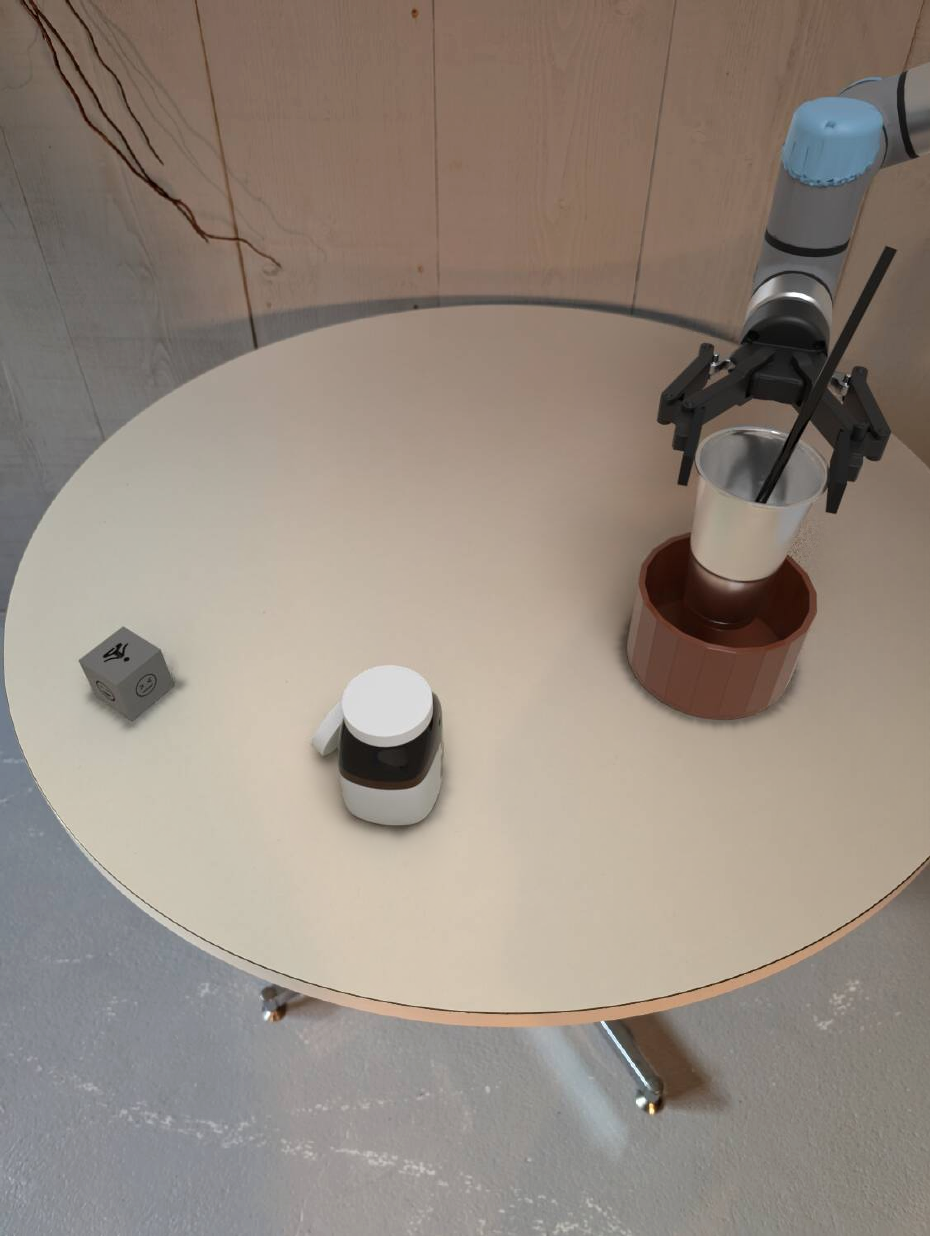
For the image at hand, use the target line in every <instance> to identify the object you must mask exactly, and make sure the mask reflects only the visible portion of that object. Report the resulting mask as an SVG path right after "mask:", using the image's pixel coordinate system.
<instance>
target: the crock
mask: <svg viewBox="0 0 930 1236" xmlns="http://www.w3.org/2000/svg"><path fill="white" fill-rule="evenodd" d="M690 538H691V531H689V532H685V533H682V534H679V535H675V536H672V537H669V538H668V539H666V540H665V541H663V542H662V543H660V544H658V545H657V546H655V547H654V548H652V549H651V550H650V552H649V553H648V555H646V557H645V558H644V560H643V561H642V563H641V565H640V568H639V575H638V579H637V585H636V590H635V591H636V592H635V597H634V602H633V608H632V613H631V620H630V625H629V630H628V635H627V642H626V655H627V659H628V663H629V666H630V668H631V670H632V673H633V674H634V676H635V677H636V679H637V680H638V682H639V683H640V684H641V685H642V687H643V688H644V689H645V690H646V691H648V693H649V694H651V695H652V696H653V697H655V698H656V699H657V700H658V701H660V702H662V703H663V704H665V705H667V707H670V708H672V709H675V710H677V711H679V712H682V713H684V714H686V715H691V716H694V717H698V718H703V719H708V720H709V719H710V720H737V719H741V718H746V717H750V716H753V715H756V714H758V713H761V712H763V711H765V710H766V709H769V708H770V707H772V706H773V705H774V704H775V703H777V701H779V699H780V698H781V697H782V696H783V694H784V693H785V691H786V690H787V689H788V686H789V683H790V681H791V679H792V678H793V675H794V672H795V669H796V667H797V665H798V662H799V660H800V657H801V654H802V652H803V649H804V647H805V644H806V641H807V639H808V637H809V635H810V632H811V629H812V626H813V624H814V621H815V618H816V616H817V613H818V593H817V591H816V589H815V586H814V584H813V582H812V580H811V578H810V576H809V574H808V572H807V571H805V569H804V568H803V567H802V566H801V565H800V564H799V563H798V562H797V561H796V560H795V559H794V558H793V557H792V556H791V555H789V554H787V556H786V558H785V560H784V562H783V564H782V566H781V567H780V569H779V570H778V571H777V573H776V575H775V577H774V579H773V581H772V584H771V586H770V588H769V590H768V592H767V594H766V596H765V598H764V600H763V602H762V604H761V606H760V608H759V610H758V612H757V615H756V617H755V619H754V620H753V622H752V623H750V624H749V625H748V626H746V627H744V628H741V629H738V630H732V631H723V630H716V629H712V628H709V627H707V626H704V625H702V624H700V623H699V622H697V621H696V620H695V619H693V618H692V617H691V616H690V614H689V613H688V612H687V610H686V608H685V606H684V601H683V597H684V593H685V586H686V578H687V570H688V563H689V555H690Z"/></svg>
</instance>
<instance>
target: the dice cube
mask: <svg viewBox="0 0 930 1236" xmlns="http://www.w3.org/2000/svg"><path fill="white" fill-rule="evenodd" d="M78 663H79V665H80V667H81V669H82V671H83V673H84V675H85V678H86V679H87V682H88V683H89V685H90V688H91V690H92V693H93V695H94V696H95V697H96V698H97V699H99V700H100V701H102V702H103V703H104V704H107V706H109V707H111V708H113V709H114V710H115V711H116V712H118V713H119V714H121V715H122V716H124V717H125V718H127V719H128V720H130V721H131V722H133V721H135V719H137V718H138V717H139V716H141V714H143V713H144V712H145V711H146V710H147V709H149V708H150V707H151V706H152V705H154V704H155V703H156V702H157V701H158V700H160V698H162V697H163V696H164V695H166V694H167V693H168V691H170V690H171V689H172V688H174V687H175V683H174V680H173V678H172V676H171V675H172V674H171V672H170V669H169V667H168V664H167V662H166V659H165V657H164V654H163V651H162V649H161V648H159V647H158V646H156V645H155V644H153V643H151V642H149V641H148V640H146V639H145V638H143V637H142V636H140V635H139V634H137V633H135V632H133V631H132V630H131V629H129V628H127V627H125V626H124V625H122V626H121V627H120V628H119V629H117V630H116V631H114V632H113V633H112V634H111V635H109V636H108V637H107V638H106V639H104V640H102V642H100V643H99V644H98V645H95V647H94V648H93V649H91V650H90V651H88V652H87V653H86V654H85V655H83V656H81V658H79V659H78Z"/></svg>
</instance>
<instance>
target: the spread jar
mask: <svg viewBox="0 0 930 1236" xmlns="http://www.w3.org/2000/svg"><path fill="white" fill-rule="evenodd" d="M443 720H444V719H443V709H442V704H441V700H440V698H439V696H438V695H437V694H436V693H435V692H434V691H433V690H432V688H431V686H430V683H428V682H427V680H426V679H425V678H424V677H423V676H422V675H421V674H420V673H419V672H416V670H414V669H411V668H408V667H406V666H402V665H395V664H394V665H393V664H387V665H386V664H385V665H378V666H374V667H370V668H368V669H366V670H364V671H361V672H360V673H359V674H357V675H356V676H354V678H353V679H351V680H350V681H349V682H348V683H347V685H346V686H345V688H344V690H343V692H342V697H341V698H340V700H338V702H337V703H336V704H335V705H334V706H333V707H332V709H331V710H330V711H329V712H328V714H327V715H326V716H325V717H324V719H323V720H322V722H321V723H320V724H319V726H318V728H317V729H316V731H315V733H314V734H313V737H312V738H311V741H310V746H311V748H313V749H314V750H316V751H317V752H318V753H319V754H320V755H322V756H323V757H325V756H328V755H330V754H331V753H333V752H334V751H335V750H337V765H338V776H339V777H338V778H339V780H340V781H339V783H340V787H341V792H342V796H343V800H344V804H345V807H346V808H347V810H348V811H349V812H350V813H351V814H352V815H353V816H355V817H357V818H359V819H361V820H364V821H366V822H369V823H373V824H375V825H381V826H387V827H388V826H389V827H403V826H410V825H414V824H418V823H420V822H422V821H424V820H425V818H427V817H428V816H429V814H430V813H431V811H432V809H433V808H434V806H435V804H436V802H437V800H438V798H439V794H440V791H441V786H442V782H443V773H444V751H445V750H444V748H445V747H444V745H445V744H444V724H443V722H444V721H443Z"/></svg>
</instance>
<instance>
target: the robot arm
mask: <svg viewBox="0 0 930 1236" xmlns="http://www.w3.org/2000/svg"><path fill="white" fill-rule="evenodd" d="M780 154H781V157H780V158H781V159H780V165H779V168H778V172H777V173H778V174H777V177H776V181H775V182H776V183H775V187H774V191H773V195H772V200H771V201H772V202H771V205H770V210H769V215H768V220H767V224H766V228H765V232H764V235H763V239H762V243H761V248H760V253H759V258H758V259H757V262H756V267H755V271H754V274H753V280H752V287H751V292H750V293H751V294H750V298H749V302H748V304H747V307H746V312H745V315H744V320H743V324H742V328H741V329H742V330H741V333H740V336H739V342H738V346H737V348H736V349H734V350H732V352H730V354H728V353H720V352H718V351H715V345H714V344H712V343H711V342H702V343H700V345H699V349H698V354H697V356H696V357H695V358H694V359H693V360H692V362H690V363H689V364H688V365H687V367H685V369H683V371H681V372H680V374H678V376H676V377H675V379H673V381H672V382H671V383H669V385H668V386H667V387H666V388H665V389H664V390H663V391H662V392H661V393H660V398H659V404H658V409H657V410H658V411H657V416H656V422H657V423H658V424H659V425H661V426H668V425H671V424H673V425H674V426H675V427H674V431H673V436H672V440H671V441H672V442H671V449H672V450H674V451H678V452H683V453H682V457H681V463H680V467H679V472H678V478H677V482H676V485H677V486H683V487H688V485H689V481H690V477H691V473H692V470H693V465H694V463H695V461H694V457H695V453H696V449H697V447H698V445H699V444H700V439H701V434H702V429H703V426H704V425H705V424H707V423H709V422H710V421H712V420H714V419H715V418H717V417H719V416H721V415H722V414H723V413H725V412H727V411H728V410H730V409H731V408H734V407H735V406H737V407H742V406H743V405H745V404H747V403H748V402H750V401H751V400H759V401H773V402H776V403H779V404H784V405H790V406H791V407H792V408H793V409H794V410H795V411H796V413H797V414H798V415H799V413H800V411H801V409H802V407H803V405H804V404H805V402H806V400H807V398H808V396H809V394H810V392H811V390H812V388H813V386H814V384H815V382H816V380H817V378H818V376H819V374H820V372H821V370H822V368H823V366H824V364H825V362H826V360H827V358H828V356H829V353H830V342H831V335H832V323H833V311H834V310H833V309H834V301H835V295H836V290H837V286H838V283H839V279H840V275H841V272H842V268H843V265H844V262H845V258H846V255H847V251H848V248H849V245H850V241H851V238H852V237H851V236H852V233H853V230H854V227H855V224H856V220H857V217H858V214H859V211H860V208H861V205H862V202H863V199H864V195H865V193H866V191H867V189H868V187H870V185H871V183H872V182H873V180H874V179H875V177H876V175H877V174H878V173H879V171H881V170H883V169H886V168H889V167H892V166H896V165H899V164H902V163H905V162H908V161H912V160H914V159H919V158H920V157H923V156H926V155H929V154H930V61H928V62H926V63H923V64H920V65H918V66H915V67H912V68H909V69H908V70H905V71H903V72H900V73H896V74H893V75H891V76H888V77H880V76H879V77H878V76H877V77H876V76H873V77H872V76H870V77H866V78H863V79H860V80H857V81H855V82H853V83H851V84H850V85H849V86H847V87H845V88H843V89H841V91H840V92H838V94H837V95H836V96H826V97H825V96H824V97H818V98H815V99H814V100H807V101H805V102H803V103H802V104H801V105H799V106H798V107H797V108H796V109H795V111H794V113H793V115H792V118H791V121H790V125H789V129H788V132H787V136H786V139H785V140H784V142H783V143H782V147H781V151H780ZM722 371H727V374H726V375H724V376H723V377H721V378H719V379H717V380H716V381H714V382H713V383H711V384H709V385H708V382H709V381H713V380H715V377H716V375H718V374H719V373H720V372H722ZM868 375H869V369H868V368H867V367H865V366H862V365H856V366H853V367H852V369H851V372H843V371H838V370H835V372H834V374H833V376H832V378H831V380H830V382H829V384H828V386H827V388H826V390H825V391H824V393H823V395H822V397H821V399H820V401H819V403H818V405H817V407H816V409H815V411H814V413H813V415H812V417H811V419H810V420H809V422H811V424H812V425H813V426H814V427H815V429H816V430H817V432H819V433H820V435H821V436H822V437H823V438H824V440H826V442H827V443H828V444H829V445H830V446H831V448H832V449H833V451H832V454H831V457H830V460H829V469H830V482H829V485H828V487H827V489H826V491H827V493H826V500H825V501H826V502H825V513H827V514H832V515H837V514H838V510H839V508H840V506H841V503H842V500H843V496H844V494H845V491H846V489H847V486H848V482H851V483H855V482H856V481H857V479H858V478H859V476H860V472H861V470H862V467H863V464H864V457H865V459H867V460H868V461H871V462H880V461H881V460H882V458H883V455H884V453H885V450H886V448H887V445H888V442H889V440H890V438H891V435H892V430H891V427H890V425H889V423H888V422H887V419H886V417H885V416H884V414H883V412H882V410H881V408H880V406H879V403H878V401H877V400H876V398H875V396H874V394H873V392H872V389H871V388H870V386H869V384H868V382H867V380H868ZM828 387H831V388H833V389H834V390H835V393H836V394H838V395H837V397H836V396H835V394H833V393H832V391H831V390H830V389H829V388H828Z"/></svg>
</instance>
